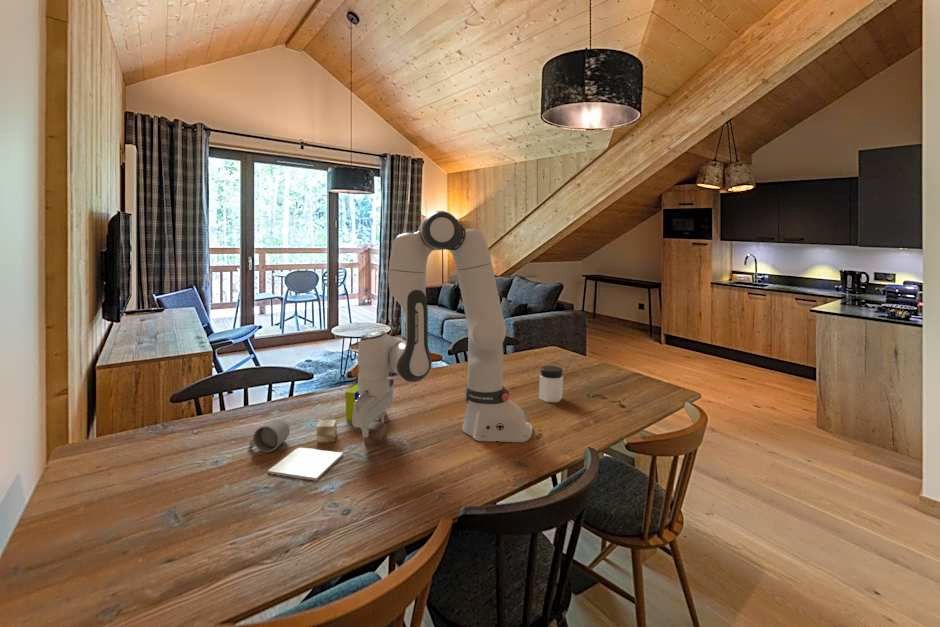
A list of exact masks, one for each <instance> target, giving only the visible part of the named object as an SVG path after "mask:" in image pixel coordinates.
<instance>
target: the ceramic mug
mask: <svg viewBox="0 0 940 627" xmlns="http://www.w3.org/2000/svg"><path fill="white" fill-rule="evenodd" d="M289 435H290V427H289V424H288V423H287V422H286V421H285V420H284V419H280V418H275V419H272V420H269V421H268V422H266V423H265V424H263V425H261V426H260V427H258V428H257V429H256V430H255V431H254V433H253V437H252V439H250V441H249V442H248V444H249V446H250V447H251V448H253V447H256V448H257V449H258V450H259V451H260V452H264V453H270V452H273V451H275V450H276V449H278V447H279V446H281V445H282V444H283V443H284V442H285V441H286V440H287V439H288V437H289Z"/></svg>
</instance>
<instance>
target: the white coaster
mask: <svg viewBox="0 0 940 627" xmlns="http://www.w3.org/2000/svg"><path fill="white" fill-rule="evenodd" d="M343 456H344V453H343V452H340V451H338V452H337V451H331V450H330V451H329V450H324V449H323V450H322V449H315V448H308V447H299V446H298V447H296V448H295V449H294V450H293V451H292V452H290V453H289V454H287V455H286V456H285V457H283V459H281V460H280V461H278V462H277V463H275V464H274V465H273V466H272V467H270V469H268V470H267V474H268V473H270V474H269V475H273V474H276V475H275V476H280V475H282V476H281V477H287V476H289V478H295V479H300V480H301V479H302V480H307V481H308V480H309V481H314V482H315V481H318V480H319V479H320V478H321V477H322V476H323V475H324V474H325V473H326V472H328V471H329V469H331V467H333V466H334V465H335V464H336V463H337V462H338V461H339V460H340V459H341V458H343Z"/></svg>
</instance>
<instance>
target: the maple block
mask: <svg viewBox="0 0 940 627" xmlns="http://www.w3.org/2000/svg"><path fill="white" fill-rule="evenodd" d="M337 424H338V423H337V419H319V420H318V423H317V425H316V443H331V442H332V443H333V442H335V441H336V439H337V438H336V437H337V436H338V432H337V431H338V429H337V427H338V426H337ZM335 438H336V439H335Z"/></svg>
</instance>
